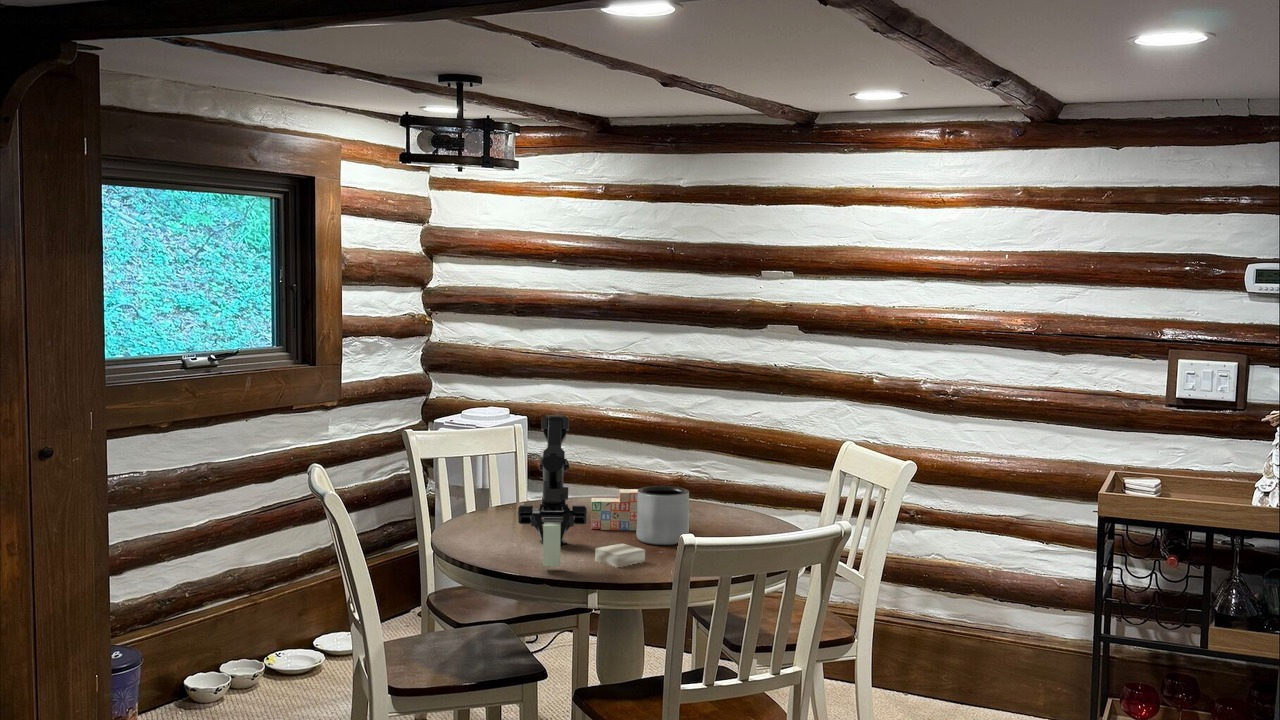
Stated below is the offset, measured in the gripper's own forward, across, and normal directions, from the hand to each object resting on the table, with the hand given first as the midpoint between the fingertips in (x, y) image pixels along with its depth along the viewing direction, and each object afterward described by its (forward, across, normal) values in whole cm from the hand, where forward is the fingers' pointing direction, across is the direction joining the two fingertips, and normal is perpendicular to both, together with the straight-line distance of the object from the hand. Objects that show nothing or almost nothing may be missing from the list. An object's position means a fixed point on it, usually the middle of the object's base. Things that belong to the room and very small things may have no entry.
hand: (551, 541), depth 302 cm
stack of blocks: (-32, +22, +45) cm, 60 cm away
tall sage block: (+4, 0, +6) cm, 7 cm away
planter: (-20, +33, +33) cm, 51 cm away
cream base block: (-2, +19, +14) cm, 24 cm away
